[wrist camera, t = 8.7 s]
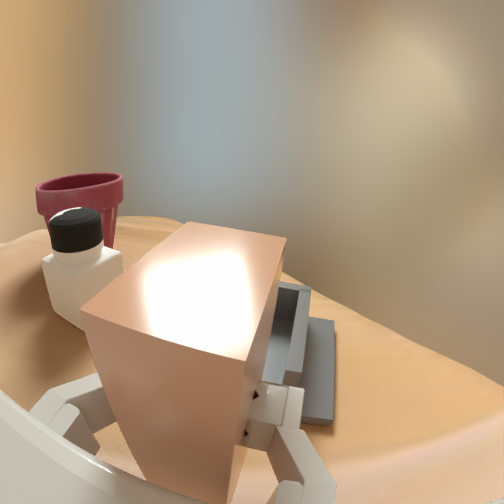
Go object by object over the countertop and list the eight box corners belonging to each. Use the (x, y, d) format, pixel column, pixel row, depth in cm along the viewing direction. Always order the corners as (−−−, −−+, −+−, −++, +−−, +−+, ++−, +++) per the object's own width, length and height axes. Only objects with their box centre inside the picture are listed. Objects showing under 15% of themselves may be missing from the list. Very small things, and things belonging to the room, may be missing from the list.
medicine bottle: (129, 305, 33) (119, 208, 28) (87, 335, 27) (65, 228, 22) (92, 287, 36) (80, 199, 31) (52, 311, 29) (31, 216, 25)
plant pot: (82, 236, 50) (77, 170, 45) (142, 247, 48) (140, 172, 43) (31, 268, 37) (18, 189, 32) (93, 287, 36) (81, 193, 30)
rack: (166, 390, 23) (160, 349, 21) (216, 305, 35) (217, 268, 33) (329, 426, 21) (348, 389, 19) (332, 327, 33) (342, 291, 31)
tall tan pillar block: (161, 505, 9) (79, 309, 4) (194, 433, 14) (188, 221, 9) (223, 524, 9) (245, 361, 4) (247, 447, 13) (286, 238, 8)
